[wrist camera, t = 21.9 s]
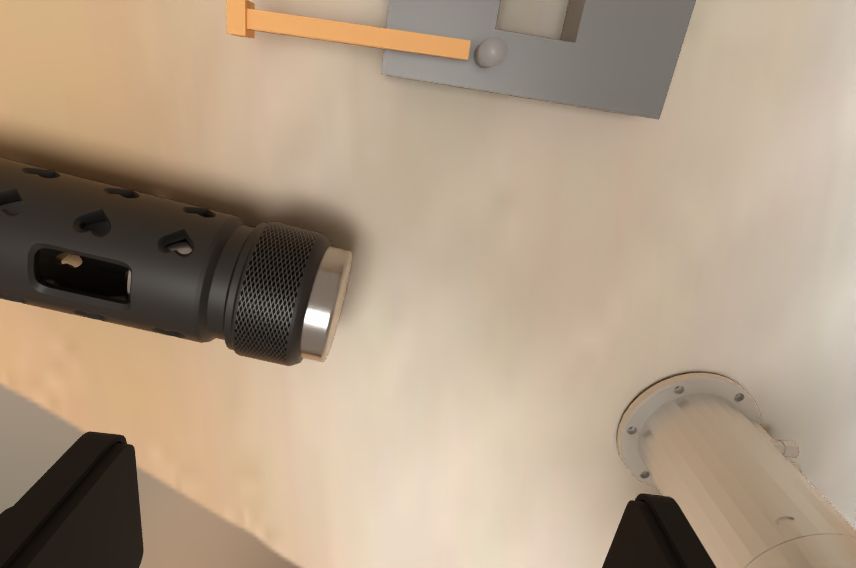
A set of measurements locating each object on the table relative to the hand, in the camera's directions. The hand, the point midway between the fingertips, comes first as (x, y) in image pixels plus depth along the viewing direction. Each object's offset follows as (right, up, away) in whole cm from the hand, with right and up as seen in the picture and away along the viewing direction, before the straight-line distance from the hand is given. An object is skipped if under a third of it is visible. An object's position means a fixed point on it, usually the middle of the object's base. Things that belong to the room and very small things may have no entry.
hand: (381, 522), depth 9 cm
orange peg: (-3, +19, +20) cm, 28 cm away
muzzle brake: (-19, +8, +30) cm, 36 cm away
